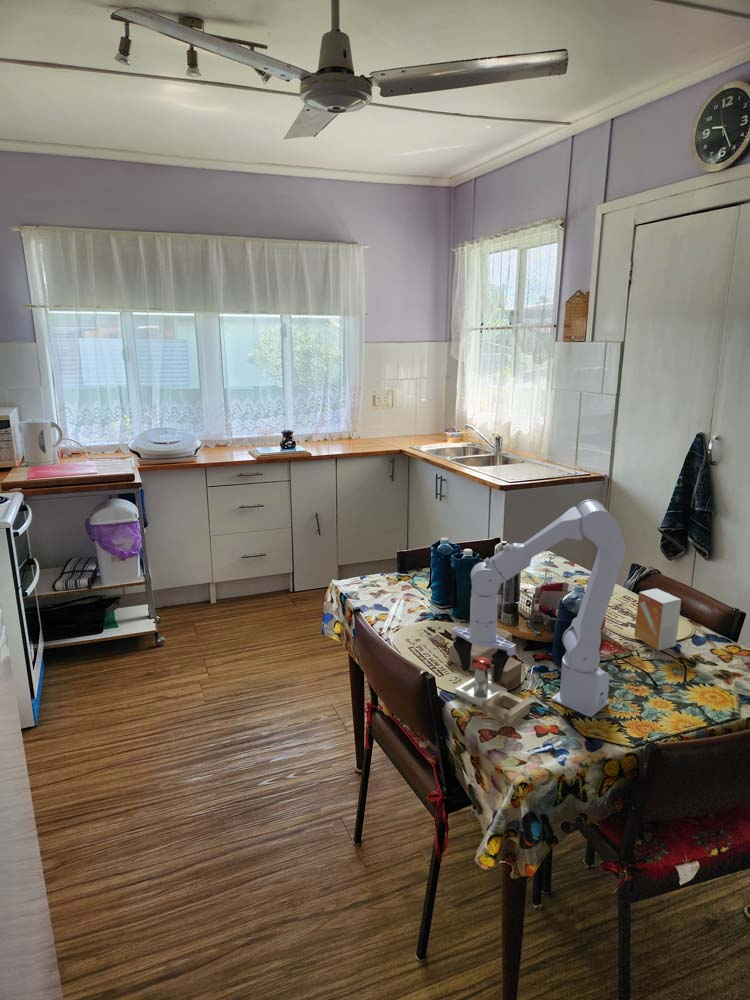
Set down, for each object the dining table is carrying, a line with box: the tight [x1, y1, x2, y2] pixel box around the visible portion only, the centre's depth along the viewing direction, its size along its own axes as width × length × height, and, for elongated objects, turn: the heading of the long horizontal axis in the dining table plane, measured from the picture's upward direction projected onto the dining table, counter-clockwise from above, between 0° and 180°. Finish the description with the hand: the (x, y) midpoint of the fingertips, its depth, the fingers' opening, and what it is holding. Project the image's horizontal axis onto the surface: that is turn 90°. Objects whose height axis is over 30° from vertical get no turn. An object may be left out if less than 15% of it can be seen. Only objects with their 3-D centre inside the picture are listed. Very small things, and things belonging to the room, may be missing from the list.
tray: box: [454, 677, 508, 709], centre depth 142 cm, size 8×8×2 cm
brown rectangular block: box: [490, 656, 523, 691], centre depth 146 cm, size 4×6×5 cm, turn 133°
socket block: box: [481, 690, 531, 728], centre depth 135 cm, size 7×7×2 cm
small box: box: [634, 588, 682, 652], centre depth 164 cm, size 8×6×13 cm
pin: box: [472, 657, 492, 698], centre depth 141 cm, size 4×4×8 cm
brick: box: [447, 627, 513, 672], centre depth 160 cm, size 17×8×5 cm, turn 136°
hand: (481, 674), depth 141 cm, fingers open, 7 cm apart
